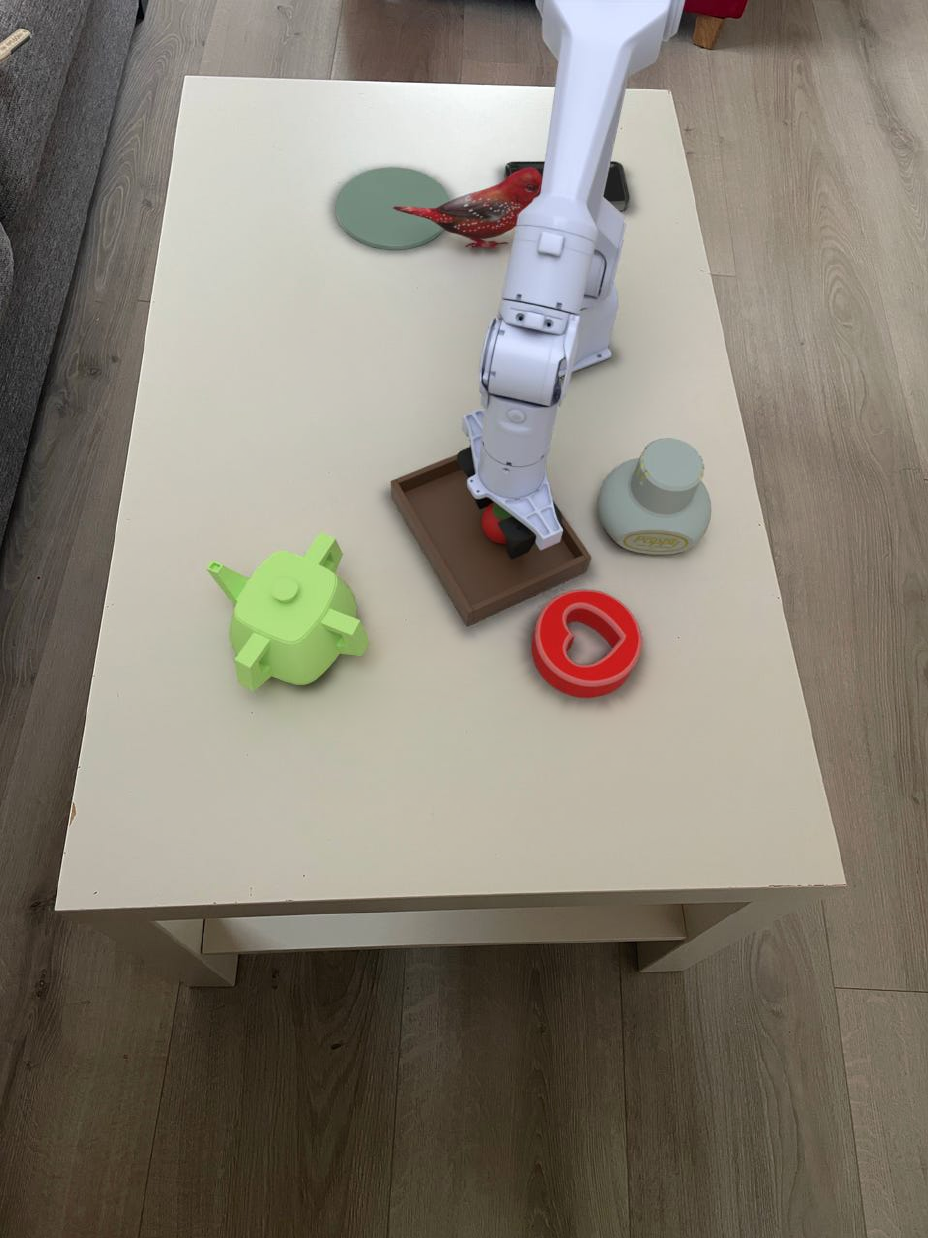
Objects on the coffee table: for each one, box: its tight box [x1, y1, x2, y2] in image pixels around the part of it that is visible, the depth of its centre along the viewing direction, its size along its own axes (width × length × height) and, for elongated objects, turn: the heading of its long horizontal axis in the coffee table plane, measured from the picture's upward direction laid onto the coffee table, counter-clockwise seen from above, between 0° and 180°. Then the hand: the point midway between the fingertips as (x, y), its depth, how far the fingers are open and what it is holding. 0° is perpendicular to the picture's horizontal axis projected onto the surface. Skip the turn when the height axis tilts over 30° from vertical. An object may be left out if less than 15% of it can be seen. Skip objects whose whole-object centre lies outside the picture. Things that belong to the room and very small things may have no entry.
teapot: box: [205, 531, 371, 692], centre depth 74 cm, size 12×12×10 cm
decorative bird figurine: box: [393, 168, 542, 249], centre depth 97 cm, size 3×18×10 cm, turn 98°
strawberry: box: [482, 502, 512, 544], centre depth 81 cm, size 4×4×5 cm
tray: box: [390, 453, 592, 627], centre depth 83 cm, size 13×16×3 cm
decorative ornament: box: [531, 588, 643, 699], centre depth 78 cm, size 10×10×3 cm
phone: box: [504, 160, 631, 212], centre depth 106 cm, size 8×1×15 cm
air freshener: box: [597, 437, 712, 555], centre depth 81 cm, size 11×8×10 cm
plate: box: [335, 166, 451, 251], centre depth 104 cm, size 14×14×1 cm
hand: (502, 527), depth 82 cm, fingers open, 6 cm apart
